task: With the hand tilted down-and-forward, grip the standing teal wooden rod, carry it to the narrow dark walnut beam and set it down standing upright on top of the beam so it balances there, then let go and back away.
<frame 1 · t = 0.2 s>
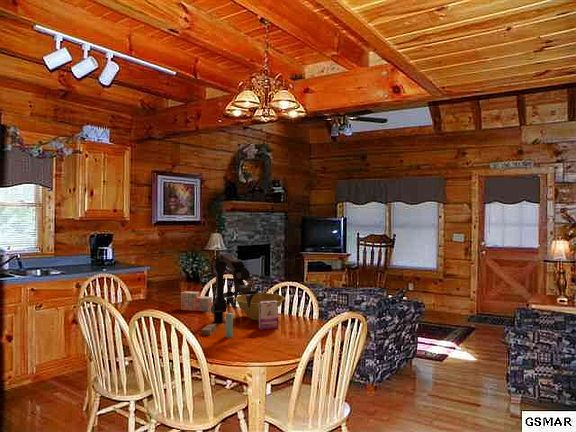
hand: (241, 308, 262), 15 cm above the table, tool tilted 15°, fingers open, 9 cm apart
planter bowl: (259, 318, 302), on the table
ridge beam: (209, 332, 268), on the table
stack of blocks: (196, 310, 324), on the table
rod: (229, 336, 259), on the table
candy bar box: (268, 328, 276), on the table
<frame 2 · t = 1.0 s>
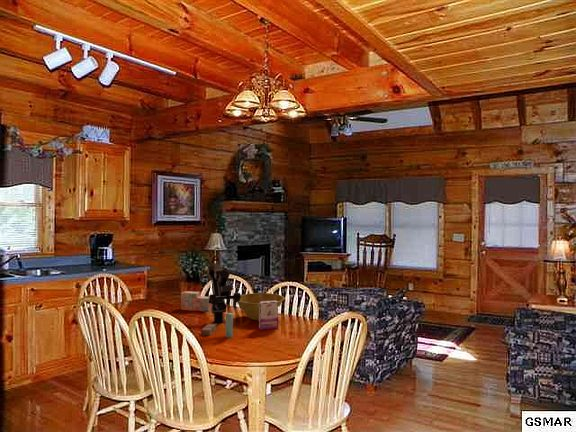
hand: (226, 310, 266), 13 cm above the table, tool tilted 45°, fingers open, 9 cm apart
nothing on the table moved.
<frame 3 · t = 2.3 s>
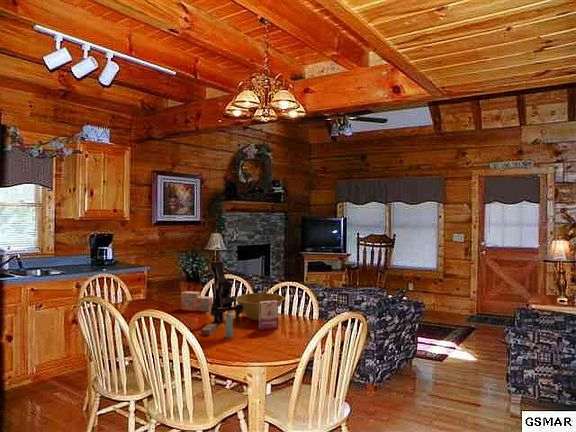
hand: (229, 322, 259), 8 cm above the table, tool tilted 45°, fingers open, 9 cm apart
nothing on the table moved.
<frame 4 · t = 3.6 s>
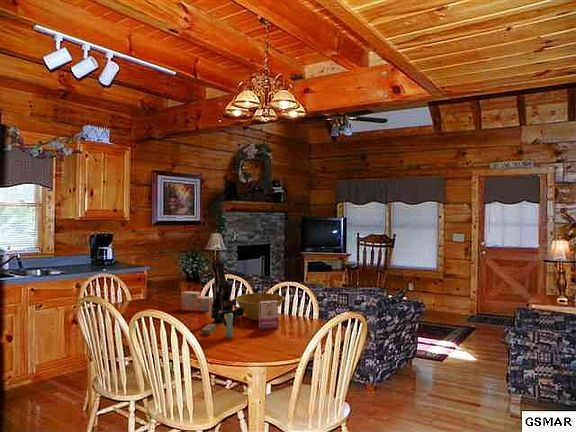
hand: (229, 325, 258), 7 cm above the table, tool tilted 45°, fingers closed on rod, 4 cm apart
rod: (229, 336, 259), on the table, touching gripper
everything else where it was.
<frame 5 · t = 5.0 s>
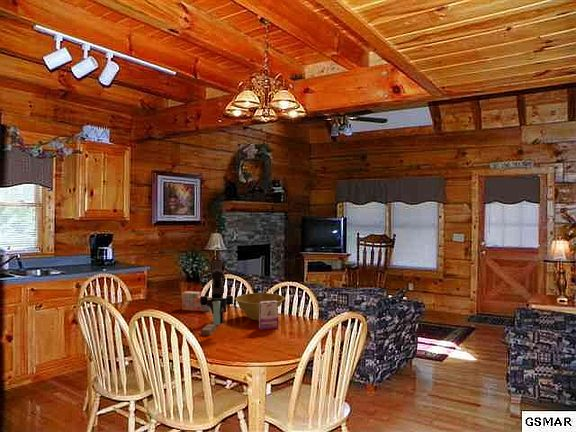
hand: (216, 313, 259), 13 cm above the table, tool tilted 45°, fingers closed on rod, 4 cm apart
rod: (216, 324, 260), point 7 cm above the table, touching gripper
everything else where it was.
when the fingers open (10 cm above the table, at t = 6.4 s): rod stays where it is, resting on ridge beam.
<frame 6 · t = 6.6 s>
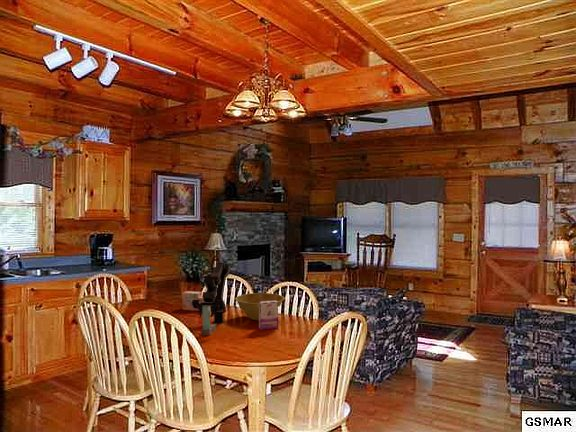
hand: (205, 316, 261), 11 cm above the table, tool tilted 45°, fingers open, 6 cm apart
rod: (206, 329, 263), point 3 cm above the table, touching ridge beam
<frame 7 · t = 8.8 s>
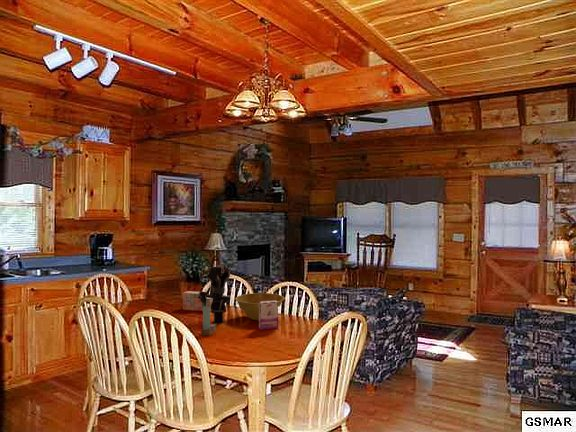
hand: (212, 310, 271), 12 cm above the table, tool tilted 30°, fingers open, 9 cm apart
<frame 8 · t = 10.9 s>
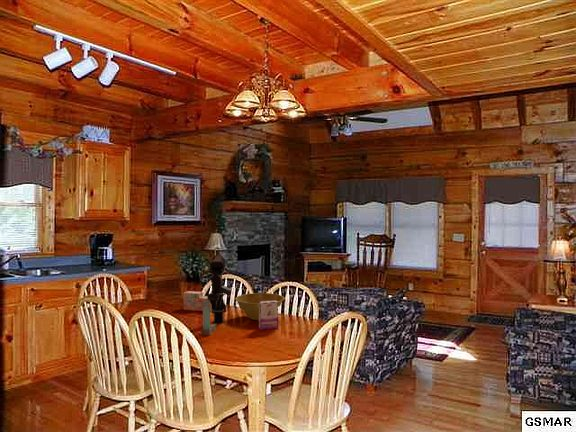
hand: (216, 307, 273), 13 cm above the table, tool pointing down, fingers open, 9 cm apart
at the end: rod inside the target area (5.0 cm from its centre), point 3.0 cm above the table; rod tilted 0°; the gripper is holding nothing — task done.
